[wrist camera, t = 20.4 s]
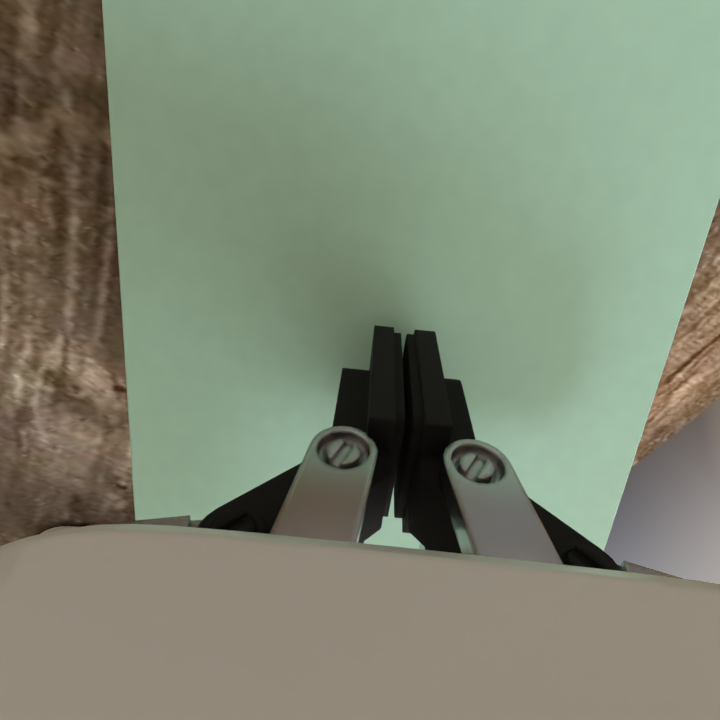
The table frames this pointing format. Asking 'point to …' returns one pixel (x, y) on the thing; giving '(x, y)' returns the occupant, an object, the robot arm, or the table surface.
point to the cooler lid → (405, 225)
